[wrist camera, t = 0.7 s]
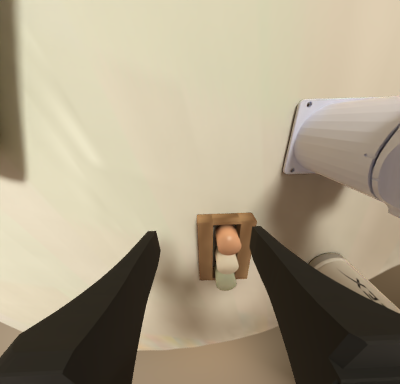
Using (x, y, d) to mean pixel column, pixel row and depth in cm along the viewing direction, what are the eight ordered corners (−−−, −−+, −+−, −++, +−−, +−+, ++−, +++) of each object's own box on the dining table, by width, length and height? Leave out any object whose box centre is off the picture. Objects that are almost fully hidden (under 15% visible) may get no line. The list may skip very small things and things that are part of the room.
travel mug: (324, 279, 29) (538, 541, 11) (299, 269, 27) (496, 554, 9) (351, 258, 26) (681, 552, 8) (325, 247, 25) (654, 571, 7)
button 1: (232, 259, 24) (237, 277, 21) (231, 272, 25) (235, 290, 23) (214, 260, 24) (216, 278, 21) (214, 272, 25) (216, 290, 23)
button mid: (234, 242, 22) (239, 259, 20) (233, 256, 24) (237, 273, 21) (214, 243, 22) (217, 260, 20) (214, 257, 24) (216, 274, 21)
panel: (251, 212, 22) (256, 221, 20) (243, 267, 27) (246, 278, 25) (197, 214, 21) (197, 223, 20) (199, 269, 27) (199, 280, 25)
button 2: (236, 222, 21) (242, 237, 18) (234, 238, 22) (240, 254, 19) (215, 223, 21) (218, 238, 18) (214, 239, 22) (217, 255, 19)
